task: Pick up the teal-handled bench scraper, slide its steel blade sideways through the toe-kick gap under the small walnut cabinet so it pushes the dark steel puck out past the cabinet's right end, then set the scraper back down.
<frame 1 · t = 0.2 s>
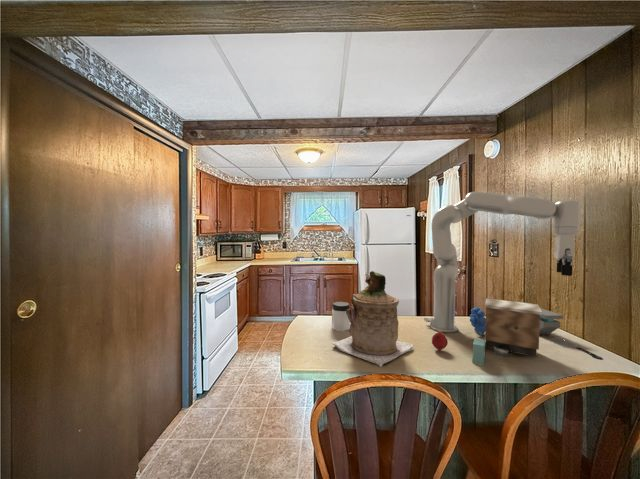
hand: (563, 273, 118), 31 cm above the table, tool pointing down, fingers open, 9 cm apart
grapes: (476, 333, 137), on the table
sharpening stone: (531, 330, 143), on the table
onion: (439, 350, 117), on the table
jar: (340, 328, 142), on the table
scraper: (478, 360, 108), on the table
cookie jar: (372, 349, 118), on the table
cleaver: (564, 345, 125), on the table
steel puck: (501, 353, 115), on the table
cabinet: (509, 352, 116), on the table
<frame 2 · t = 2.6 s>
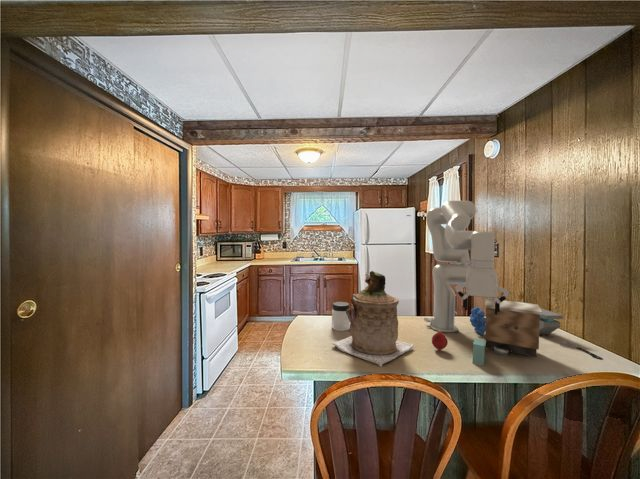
hand: (480, 311, 107), 18 cm above the table, tool pointing down, fingers open, 9 cm apart
nothing on the table moved.
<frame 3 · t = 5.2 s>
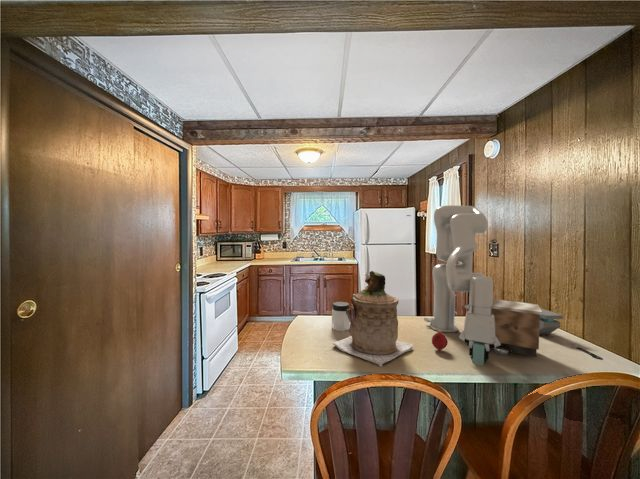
hand: (478, 358, 108), 1 cm above the table, tool pointing down, fingers closed on scraper, 3 cm apart
scraper: (478, 360, 108), on the table, touching gripper
everything else where it was.
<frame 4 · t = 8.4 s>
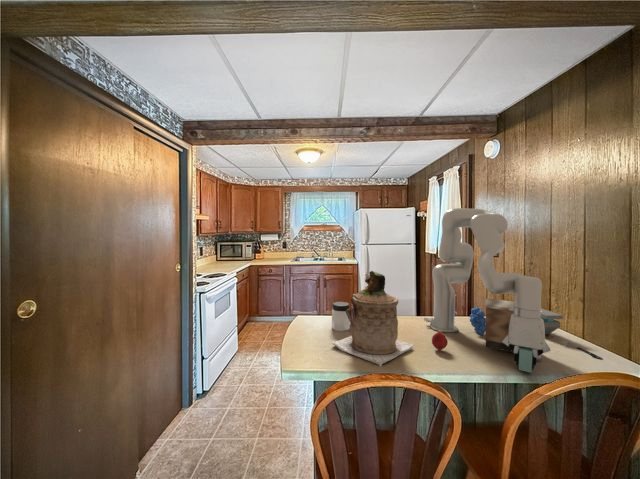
hand: (524, 365, 101), 2 cm above the table, tool pointing down, fingers closed on scraper, 3 cm apart
scraper: (524, 367, 101), point 1 cm above the table, touching gripper
steel puck: (532, 358, 110), on the table
everything else where it was.
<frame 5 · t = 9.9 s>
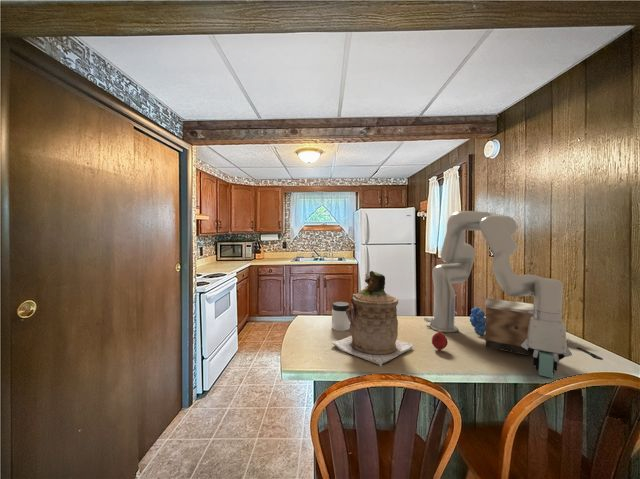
hand: (544, 369, 98), 2 cm above the table, tool pointing down, fingers closed on scraper, 3 cm apart
scraper: (544, 371, 98), point 1 cm above the table, touching gripper
steel puck: (550, 362, 107), on the table
everything else where it was.
when the fingers open (1 cm above the table, at t = 12.3 s): scraper stays where it is, on the table.
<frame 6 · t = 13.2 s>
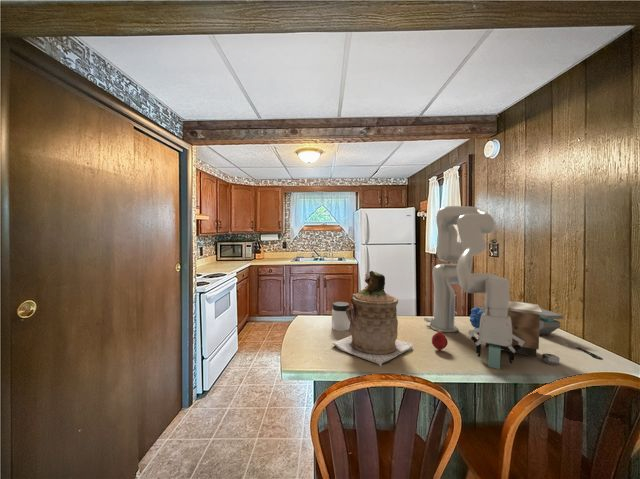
hand: (494, 358, 106), 2 cm above the table, tool pointing down, fingers open, 9 cm apart
scraper: (494, 363, 106), on the table
everything else where it was.
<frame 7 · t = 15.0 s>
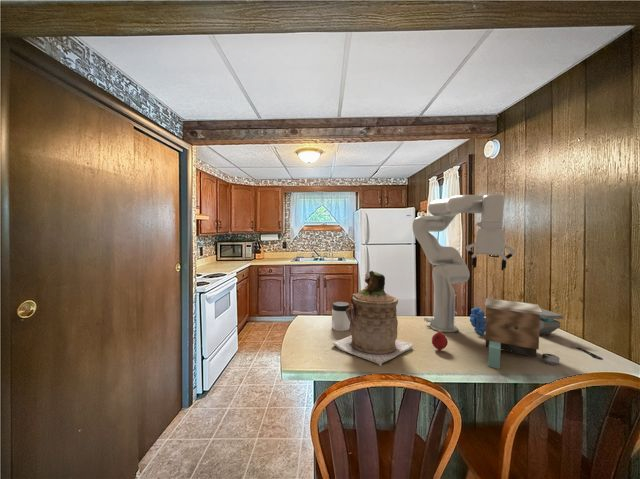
hand: (488, 268, 117), 33 cm above the table, tool pointing down, fingers open, 9 cm apart
nothing on the table moved.
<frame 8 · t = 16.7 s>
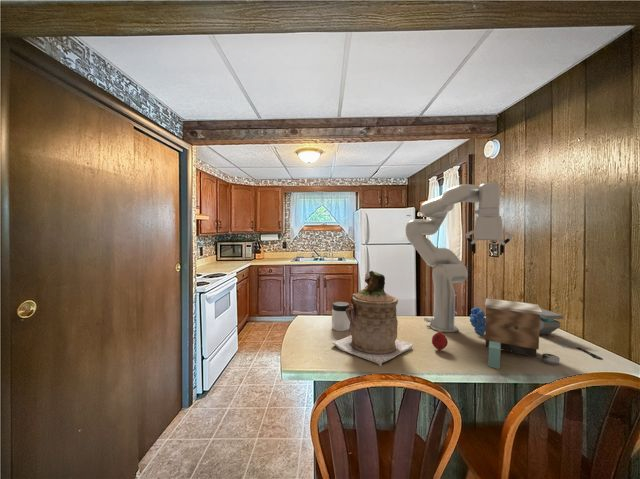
hand: (487, 254, 122), 38 cm above the table, tool pointing down, fingers open, 9 cm apart
nothing on the table moved.
at the end: steel puck inside the target area (6.8 cm from its centre), on the table; scraper on the table; the gripper is holding nothing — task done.
